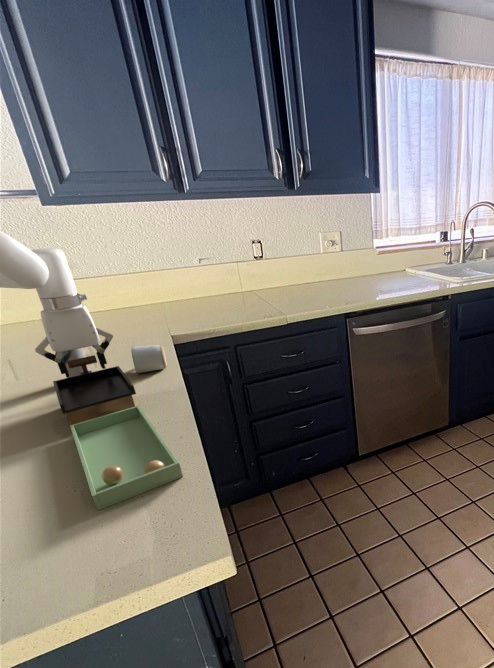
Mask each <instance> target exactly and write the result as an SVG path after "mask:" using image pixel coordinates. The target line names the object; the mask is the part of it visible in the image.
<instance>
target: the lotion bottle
mask: <svg viewBox="0 0 494 668" xmlns="http://www.w3.org/2000/svg"><path fill="white" fill-rule="evenodd" d="M83 357H87V356H86V353H85V350H84V348H79V349H74V350H69V351H64V353H63V356H62V360H64V362H65V365H66V368H67V370H68V373H69V377H74V376H78V375H81V374H80V373H82V372H83V370H82V367H81V366H80V367H75V368H71V369H69V366H68V363H67V361H69V360H74V359H79V358H83ZM86 367H87V369H88V371H92V370H91V367H90V364H89V365H86ZM69 377H67V378H69Z"/></svg>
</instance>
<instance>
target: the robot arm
mask: <svg viewBox="0 0 494 668" xmlns="http://www.w3.org/2000/svg"><path fill="white" fill-rule="evenodd" d="M0 288H4V289H20V290H21V289H22V290H34V289H35V290H36V292H37V295H38V298H39V301H40V304H41V306H42V308H43V310H40V318H41V322H42V327H43V330H44V333H45V337H44V339H42V341H41V342H39V344H38V345H37V346H36V347H35V348H34V352H35V353H37V354H39V356H42V357H43V358H46V359H48V360H50V361H52V362H55V363H56V364H57V366H58V369H59V371H60V374H61V375H65V378H67V377H69V373H68V370H67V368H66V365H65V362H64V360H62V356H63V353H64V351H69V350H74V349H79V348H83V349H84V348H88V347H92V348H93V349H94V350H95V351H96V353H95V355H96V358H97V359H98V360H97V361H98V362H99V366H100V367H101V370H103V369H106V365H107V364H108V362H107V359H106V356H105V352H106V350H107V349H108V347H109V346H110V344H111V342H112V339H113V338H114V335H113V334H112V333H111V332H108V331H106V330H103V329H101V328H98V327H96V325H95V322H94V320H93V317H92V315H91V313H90V310H88V307H87V306H86V304H84V303H83V302H84V301H87V300H88V297H87V294H81V293H78V290H77V287H76V283H75V280H74V278H73V274H72V271H71V269H70V266H69V263H68V260H67V257H66V255H65V253H64V251H63V250H62V249H60V248H56V247H46V248H45V247H44V248H35V249H29V248H28V247H27V246H25V245H24V244H22V243H21V242H20V241H18V240H16V239H15V238H13V237H12V236H10V235H8V234H7V233H5V232H3V231H1V230H0ZM100 336H101V337H104V339H103V340H102V342H101V339H100ZM100 342H101V343H100ZM99 343H100V344H99ZM48 346H49V347H50V348H51V350H52V351H53V352H55V353H51V352H49V351H47V350H46V348H47V347H48Z"/></svg>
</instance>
